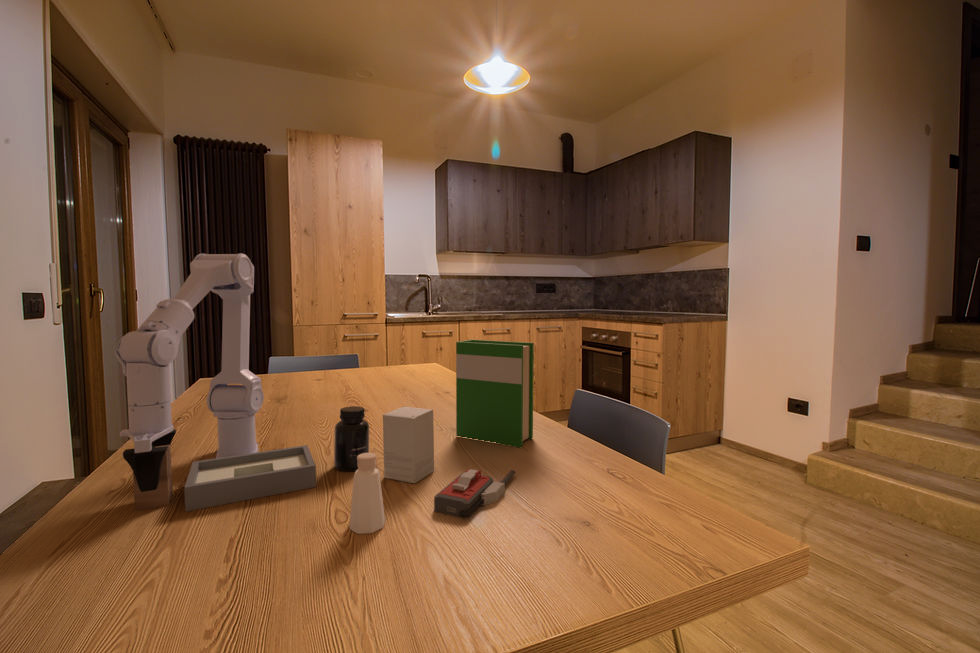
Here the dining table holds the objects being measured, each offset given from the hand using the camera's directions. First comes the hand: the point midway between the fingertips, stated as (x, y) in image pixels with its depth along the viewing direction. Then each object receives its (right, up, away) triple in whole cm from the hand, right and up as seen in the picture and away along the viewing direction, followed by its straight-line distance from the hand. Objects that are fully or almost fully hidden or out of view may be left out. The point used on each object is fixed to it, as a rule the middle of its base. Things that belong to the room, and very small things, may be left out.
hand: (153, 481), depth 75 cm
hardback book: (+58, -2, +36) cm, 68 cm away
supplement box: (+41, -3, +13) cm, 43 cm away
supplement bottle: (+28, -3, +17) cm, 33 cm away
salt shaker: (+38, -4, -7) cm, 39 cm away
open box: (+13, -3, +8) cm, 15 cm away
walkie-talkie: (+55, -4, +4) cm, 55 cm away
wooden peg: (0, -4, 0) cm, 4 cm away
